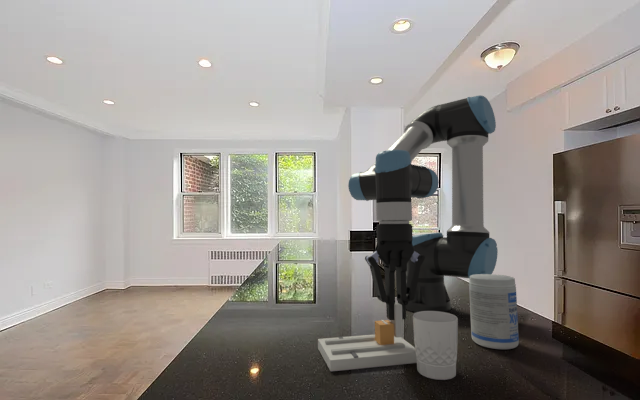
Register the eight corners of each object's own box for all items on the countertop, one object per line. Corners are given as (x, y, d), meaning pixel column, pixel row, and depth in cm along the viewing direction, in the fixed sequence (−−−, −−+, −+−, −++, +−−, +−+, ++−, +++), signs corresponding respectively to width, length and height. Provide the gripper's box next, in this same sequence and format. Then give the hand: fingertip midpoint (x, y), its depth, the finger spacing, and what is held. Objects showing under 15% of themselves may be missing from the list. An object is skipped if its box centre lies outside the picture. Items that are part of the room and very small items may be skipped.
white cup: (408, 364, 67) (406, 311, 68) (447, 362, 68) (445, 310, 69) (423, 383, 59) (421, 323, 60) (468, 380, 60) (466, 321, 61)
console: (395, 341, 80) (395, 330, 80) (420, 362, 68) (420, 348, 68) (318, 348, 76) (317, 336, 76) (330, 371, 64) (330, 356, 65)
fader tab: (388, 339, 75) (387, 319, 75) (394, 343, 72) (393, 323, 72) (375, 340, 74) (374, 320, 74) (380, 345, 71) (379, 324, 72)
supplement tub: (523, 353, 72) (520, 281, 73) (473, 348, 75) (471, 279, 76) (513, 338, 81) (510, 274, 82) (469, 334, 84) (466, 272, 85)
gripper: (414, 222, 80) (416, 327, 79) (359, 223, 77) (361, 332, 76) (430, 222, 73) (434, 338, 71) (371, 223, 70) (373, 343, 69)
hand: (396, 335), depth 74 cm, fingers closed
